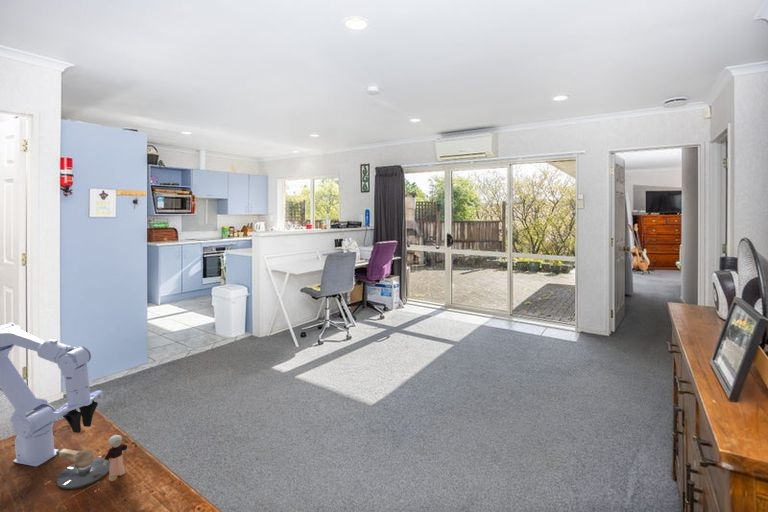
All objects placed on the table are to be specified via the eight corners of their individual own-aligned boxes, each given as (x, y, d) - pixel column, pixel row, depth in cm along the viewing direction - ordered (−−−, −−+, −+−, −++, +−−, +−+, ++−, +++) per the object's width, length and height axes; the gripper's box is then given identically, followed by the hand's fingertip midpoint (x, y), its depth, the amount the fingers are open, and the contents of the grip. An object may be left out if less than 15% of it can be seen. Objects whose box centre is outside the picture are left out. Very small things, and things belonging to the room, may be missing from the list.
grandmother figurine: (113, 484, 117) (109, 443, 116) (101, 482, 118) (98, 441, 116) (134, 467, 125) (131, 428, 123) (123, 466, 125) (120, 427, 124)
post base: (45, 484, 117) (44, 474, 116) (87, 457, 129) (86, 447, 129) (82, 492, 114) (81, 481, 113) (121, 463, 126) (120, 453, 126)
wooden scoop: (52, 463, 121) (51, 454, 121) (67, 454, 125) (66, 445, 125) (83, 469, 119) (82, 459, 118) (96, 460, 123) (96, 450, 122)
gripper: (64, 399, 117) (69, 443, 119) (109, 378, 131) (112, 418, 133) (45, 397, 119) (50, 440, 120) (91, 376, 133) (95, 416, 134)
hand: (82, 429), depth 127 cm, fingers open, 3 cm apart
